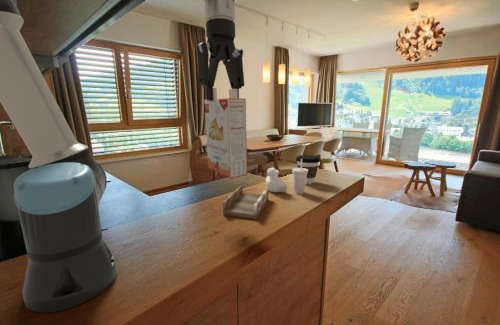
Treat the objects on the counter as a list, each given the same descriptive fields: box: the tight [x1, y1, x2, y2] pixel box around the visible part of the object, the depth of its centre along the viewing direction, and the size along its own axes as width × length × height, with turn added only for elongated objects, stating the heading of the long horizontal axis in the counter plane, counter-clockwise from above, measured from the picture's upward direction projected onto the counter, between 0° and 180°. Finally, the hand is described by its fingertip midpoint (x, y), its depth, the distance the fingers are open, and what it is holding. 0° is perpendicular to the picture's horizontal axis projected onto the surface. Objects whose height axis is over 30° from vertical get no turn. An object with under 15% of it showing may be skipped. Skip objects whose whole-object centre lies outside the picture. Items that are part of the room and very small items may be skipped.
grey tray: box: [222, 185, 270, 220], centre depth 88 cm, size 18×11×5 cm, turn 164°
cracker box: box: [203, 97, 248, 179], centre depth 71 cm, size 14×6×21 cm, turn 34°
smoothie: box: [291, 159, 308, 195], centre depth 101 cm, size 6×6×14 cm
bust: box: [265, 166, 288, 194], centre depth 103 cm, size 12×8×11 cm
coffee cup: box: [295, 154, 321, 185], centre depth 115 cm, size 11×11×12 cm
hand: (223, 112), depth 70 cm, fingers closed on cracker box, 6 cm apart
